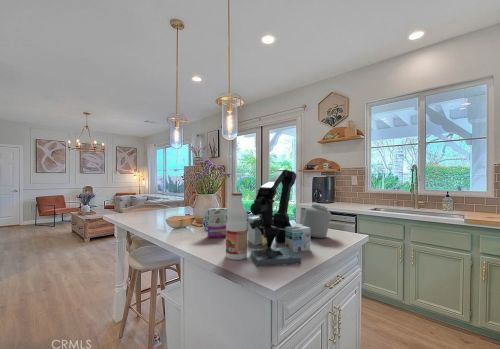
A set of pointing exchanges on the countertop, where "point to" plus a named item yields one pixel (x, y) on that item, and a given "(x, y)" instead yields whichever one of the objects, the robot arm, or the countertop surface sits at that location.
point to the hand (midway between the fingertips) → (266, 245)
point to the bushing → (264, 242)
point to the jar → (317, 220)
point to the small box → (254, 233)
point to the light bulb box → (297, 238)
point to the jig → (275, 256)
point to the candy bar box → (217, 222)
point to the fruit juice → (236, 229)
